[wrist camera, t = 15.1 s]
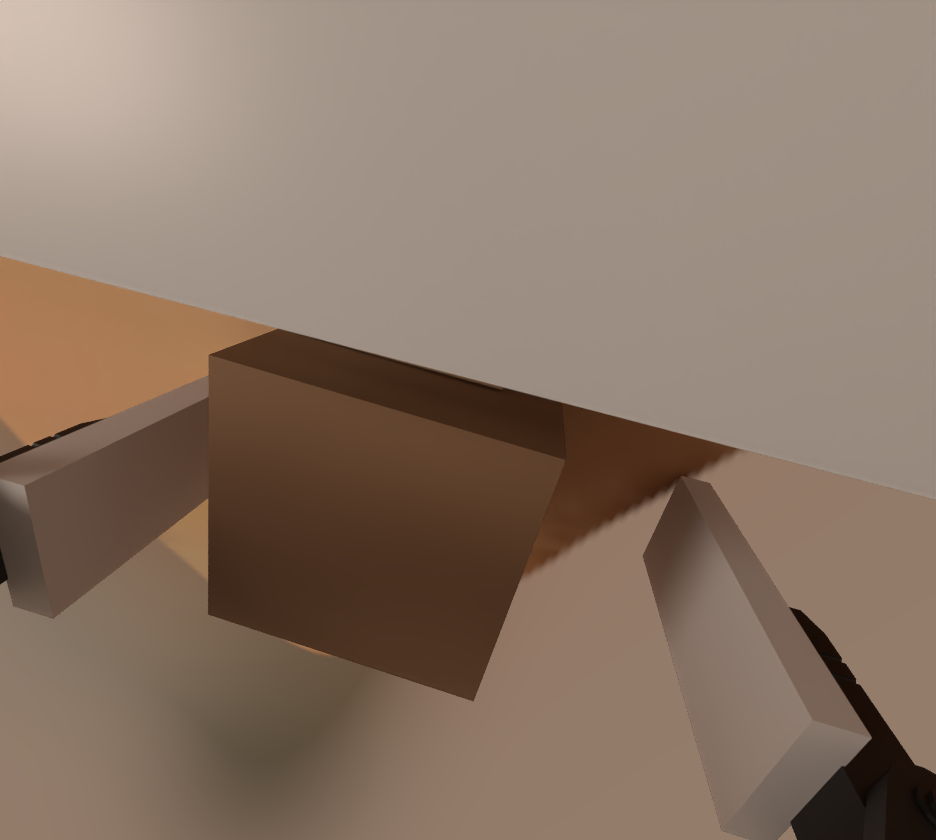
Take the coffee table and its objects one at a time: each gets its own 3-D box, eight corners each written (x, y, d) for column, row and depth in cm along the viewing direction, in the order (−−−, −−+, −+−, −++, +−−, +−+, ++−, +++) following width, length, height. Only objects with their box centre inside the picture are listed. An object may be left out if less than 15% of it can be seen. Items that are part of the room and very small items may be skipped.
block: (368, 294, 12) (209, 355, 6) (558, 348, 11) (565, 460, 6) (344, 460, 14) (208, 614, 8) (504, 508, 13) (473, 701, 8)
